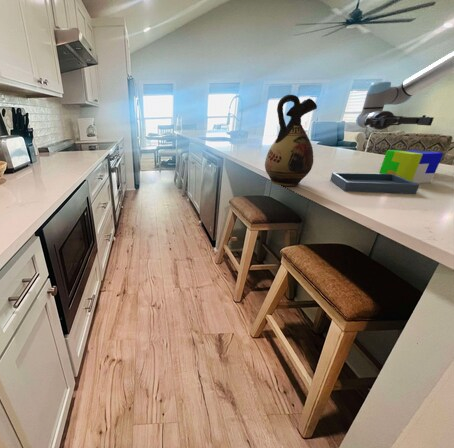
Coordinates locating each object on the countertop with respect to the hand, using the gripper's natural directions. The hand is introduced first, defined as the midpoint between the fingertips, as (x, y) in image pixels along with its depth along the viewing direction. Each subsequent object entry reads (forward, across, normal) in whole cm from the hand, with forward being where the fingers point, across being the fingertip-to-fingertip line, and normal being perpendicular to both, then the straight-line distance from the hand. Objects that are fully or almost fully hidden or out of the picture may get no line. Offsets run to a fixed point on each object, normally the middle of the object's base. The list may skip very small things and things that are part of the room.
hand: (407, 122), depth 89 cm
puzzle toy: (+10, 0, -19) cm, 22 cm away
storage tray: (+22, +15, -19) cm, 33 cm away
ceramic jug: (+22, +42, -20) cm, 51 cm away
